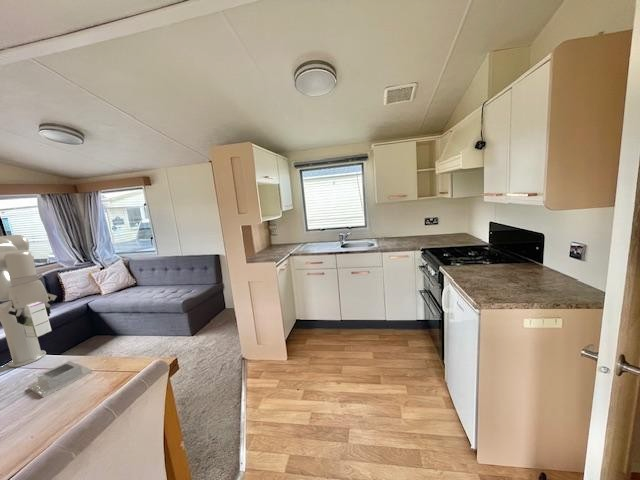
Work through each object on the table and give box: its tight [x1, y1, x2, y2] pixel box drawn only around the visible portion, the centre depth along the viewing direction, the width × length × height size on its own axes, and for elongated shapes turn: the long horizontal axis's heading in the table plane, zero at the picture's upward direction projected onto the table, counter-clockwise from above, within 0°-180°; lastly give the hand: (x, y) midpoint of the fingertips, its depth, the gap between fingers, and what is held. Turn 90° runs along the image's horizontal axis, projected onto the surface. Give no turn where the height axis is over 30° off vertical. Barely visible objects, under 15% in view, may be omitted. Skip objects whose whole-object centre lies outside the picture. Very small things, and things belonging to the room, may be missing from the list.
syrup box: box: [21, 302, 53, 338], centre depth 110 cm, size 6×6×14 cm
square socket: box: [27, 360, 93, 398], centre depth 110 cm, size 14×16×4 cm
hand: (35, 319), depth 110 cm, fingers closed on syrup box, 7 cm apart
